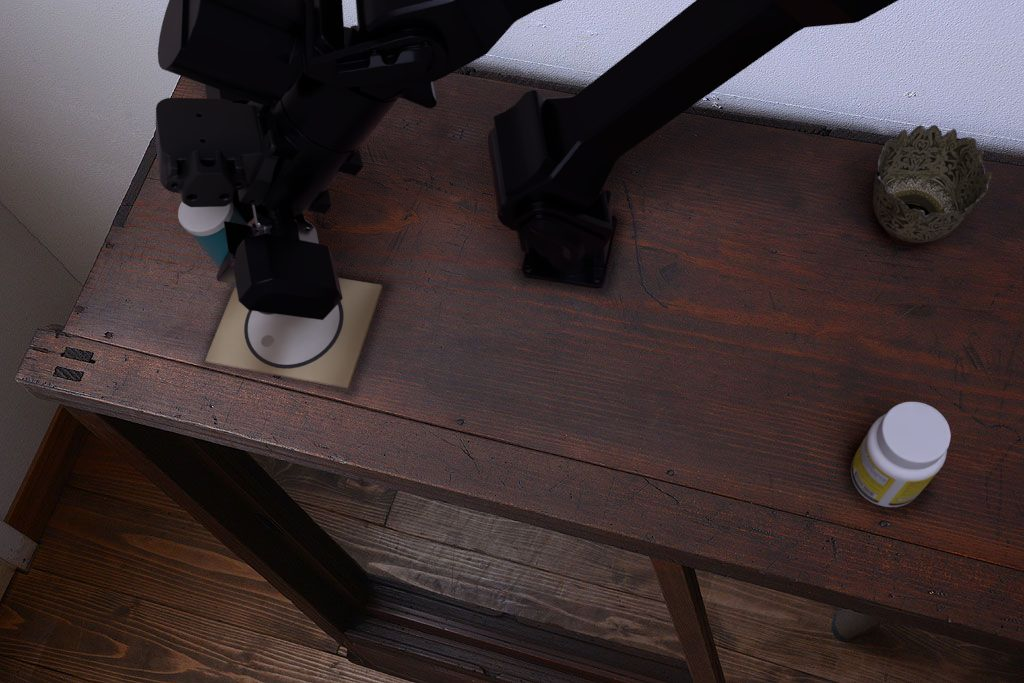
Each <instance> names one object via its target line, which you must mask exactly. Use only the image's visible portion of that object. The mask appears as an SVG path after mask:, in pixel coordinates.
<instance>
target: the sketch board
mask: <svg viewBox="0 0 1024 683" xmlns="http://www.w3.org/2000/svg"><path fill="white" fill-rule="evenodd" d="M338 279H339V283H340V288H341V293H342V297H343V299H342V300H341V301H340V302H339V303H338V305H337V306H336V307H335V308H334V309H333V310H332V311H331V312H330V313H329V314H328V315H327V316H326V317H325V318H324V319H323V320H318V319H311V318H303V317H296V316H288V315H281V314H271V315H266V314H262V313H260V312H258V311H251V310H248V309H247V308H246V307H245V306H243V305H242V304H241V303H240V302H239V300H238V294H237V289H236V287H235V286H234V288H233V290H232V292H231V295H230V298H229V300H228V303H227V305H226V307H225V310H224V312H223V314H222V318H221V319H220V322H219V324H218V328H217V330H216V332H215V335H214V338H213V340H212V342H211V344H210V347H209V350H208V352H207V355H206V357H205V360H204V361H205V363H207V364H212V365H217V366H222V367H228V368H234V369H238V370H244V371H250V372H254V373H255V372H256V373H260V374H266V375H272V376H276V377H283V378H287V379H293V380H298V381H303V382H310V383H313V384H314V383H315V384H320V385H326V386H330V387H336V388H341V389H346V390H350V387H351V384H352V381H353V378H354V376H355V372H356V369H357V367H358V366H357V365H358V364H359V360H360V357H361V354H362V351H363V348H364V345H365V342H366V340H367V335H368V334H369V329H370V327H371V324H372V322H373V318H374V315H375V312H376V309H377V306H378V303H379V300H380V297H381V295H382V294H381V293H382V290H383V285H382V284H379V283H372V282H366V281H360V280H354V279H347V278H341V277H338Z"/></svg>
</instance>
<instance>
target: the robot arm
mask: <svg viewBox="0 0 1024 683" xmlns="http://www.w3.org/2000/svg"><path fill="white" fill-rule="evenodd" d="M561 1H563V0H355V8H356V9H355V11H356V22H357V23H356V24H357V25H351V26H350V27H348V26H345V23H344V22H345V21H344V8H343V0H168V3H167V5H166V9H165V12H164V15H163V20H162V23H161V28H160V32H159V38H158V45H157V62H158V65H159V68H160V69H161V70H163V71H166V72H168V73H172V74H175V75H178V76H180V77H183V78H186V79H188V80H191V81H193V82H197V83H200V84H202V85H204V87H205V88H204V89H205V95H206V98H205V97H204V98H201V97H165V98H163V99H161V100H159V101H158V103H157V104H156V107H155V149H156V155H157V163H158V174H159V181H160V184H161V186H162V187H163V188H164V189H165V190H166V191H168V192H171V193H176V194H180V195H181V202H183V203H184V204H186V205H187V206H189V207H224V206H227V205H229V204H230V203H232V202H233V205H234V206H235V207H236V209H237V210H238V212H239V213H240V214H241V216H242V217H243V219H244V220H245V221H246V223H247V224H248V225H249V223H250V222H251V221H253V220H254V223H252V224H251V225H249V226H248V225H243V224H237V223H232V222H227V221H224V227H225V233H226V239H227V246H228V252H227V254H226V256H225V258H224V260H223V262H222V264H221V266H220V268H219V267H218V268H219V269H218V271H217V273H216V281H217V282H219V283H225V284H232V283H233V282H236V287H237V294H238V300H239V302H240V303H241V304H242V305H243V306H245V307H246V308H247V309H248V310H251V311H259V312H266V313H274V314H281V315H288V316H296V317H303V318H311V319H318V320H323V319H324V318H325V317H326V316H327V315H328V314H329V313H330V312H331V311H332V310H333V309H334V308H335V307H336V306H337V305H338V303H339V302H340V301H341V300H342V299H343V297H342V293H341V288H340V283H339V279H338V278H339V274H338V271H337V270H338V269H337V265H336V260H335V255H334V254H333V252H332V250H331V248H330V247H329V244H323V243H320V242H319V237H318V232H317V229H316V228H315V225H313V224H312V223H311V222H309V221H308V220H306V217H305V213H306V212H312V213H317V214H320V215H326V213H328V211H329V210H330V209H331V208H332V206H333V204H332V199H331V195H330V194H331V193H330V191H329V190H330V189H329V188H330V186H332V184H333V183H334V181H335V180H336V179H337V178H338V176H339V175H340V174H344V175H345V174H346V175H349V176H354V177H356V176H357V175H358V174H359V173H360V172H361V170H362V169H363V168H364V164H363V158H362V155H361V150H360V148H361V147H362V145H363V144H364V143H365V142H366V141H367V139H368V138H369V137H370V136H371V134H372V133H373V131H375V129H376V128H377V126H378V125H379V124H380V123H381V121H382V120H383V119H384V118H385V116H386V115H387V114H388V113H389V111H390V110H391V109H392V108H393V106H394V105H395V104H396V103H397V101H398V100H399V99H402V100H404V101H405V100H406V101H408V102H411V103H413V104H416V105H418V106H421V107H422V108H425V109H434V108H436V106H437V104H438V100H437V95H436V90H435V86H434V82H437V81H438V80H441V79H443V78H445V77H447V76H449V75H451V74H452V73H454V72H456V71H458V70H460V69H462V68H464V67H465V66H467V65H470V64H472V63H473V62H475V61H477V60H479V59H480V58H482V57H484V56H486V55H487V54H488V53H489V52H490V51H491V50H492V48H493V47H495V46H496V44H497V43H498V42H499V41H500V40H501V39H502V37H503V36H504V35H505V34H506V33H507V31H508V30H509V29H511V27H512V26H513V25H514V24H515V23H516V22H517V21H519V20H521V19H523V18H525V17H527V16H529V15H531V14H532V13H534V12H535V11H539V10H541V9H543V8H544V9H545V8H546V7H550V6H552V5H555V4H557V3H559V2H561ZM898 1H899V0H694V1H693V2H692V3H691V4H689V5H688V6H687V7H686V8H683V10H682V11H681V12H679V13H678V14H676V15H675V16H673V17H672V19H670V20H669V21H667V23H665V24H664V25H662V26H661V27H660V28H658V30H656V31H654V33H652V34H651V35H650V36H649V37H647V39H645V40H644V41H643V42H641V43H640V44H639V45H638V46H636V47H635V48H633V49H632V50H631V51H630V52H629V53H627V54H626V55H625V56H624V57H622V58H621V59H620V60H619V61H617V62H616V63H615V64H613V65H612V66H610V68H608V69H607V70H605V71H604V72H603V73H602V74H601V75H599V76H598V77H597V78H596V79H594V80H593V81H592V82H591V83H589V84H588V85H586V87H584V88H583V89H582V90H581V91H579V92H578V93H576V94H574V95H572V96H551V97H549V96H548V97H545V96H543V95H542V94H541V93H540V92H539V91H538V90H535V89H531V90H528V91H526V92H525V93H523V95H522V96H521V97H520V98H519V99H518V100H517V101H516V103H514V105H512V106H511V107H510V108H508V109H506V110H505V111H503V112H500V113H498V114H496V115H494V116H493V124H494V126H493V127H492V128H491V129H490V130H489V133H488V134H487V147H488V155H489V163H490V164H489V165H490V169H491V170H490V171H491V177H492V184H493V192H494V199H495V206H496V212H497V219H498V220H499V222H500V223H501V225H503V226H504V227H506V228H507V229H509V230H512V231H515V232H516V233H517V239H518V243H519V248H520V250H521V252H522V253H525V256H524V259H523V263H522V268H521V273H522V275H523V276H524V277H525V278H527V279H528V278H529V279H536V280H542V281H549V282H554V283H561V284H568V285H574V286H580V287H587V288H594V289H600V288H602V287H604V284H605V281H606V276H607V271H608V268H609V263H610V259H611V254H612V251H613V246H614V241H615V237H616V233H617V227H618V224H619V223H618V217H617V216H616V215H614V214H613V211H612V209H613V208H612V192H611V191H610V190H606V187H605V185H606V183H607V181H608V179H609V177H610V175H611V173H612V171H613V169H614V167H615V165H616V164H617V161H618V160H619V159H620V158H621V157H622V156H624V155H625V154H627V152H629V151H630V150H632V149H633V148H635V147H636V146H638V145H639V144H640V143H642V142H643V141H644V140H646V139H647V138H649V137H650V136H652V135H653V134H654V133H656V132H657V131H659V130H661V129H662V128H663V127H665V126H666V125H668V124H669V123H671V121H673V120H674V119H676V118H677V117H679V116H680V115H681V114H683V113H684V112H686V111H687V110H689V109H690V108H692V107H693V106H694V105H695V104H698V102H700V101H702V100H703V99H704V98H705V97H707V96H708V95H710V94H711V93H713V92H714V91H715V90H717V89H718V88H720V87H721V86H722V85H725V83H727V82H728V81H730V80H731V79H732V78H734V77H735V76H737V75H738V74H739V73H741V72H743V71H744V70H745V69H747V68H748V67H749V66H751V65H752V64H753V63H755V62H757V61H758V60H759V59H761V58H763V57H764V56H765V55H767V54H769V52H771V51H772V50H774V49H775V48H777V47H778V46H779V45H781V44H782V43H784V42H785V41H786V40H788V39H789V38H791V37H792V36H793V35H795V34H796V33H798V32H800V31H801V30H803V29H806V28H815V27H826V26H836V25H847V24H856V23H859V22H861V21H863V20H865V19H867V18H869V17H870V16H873V15H874V14H876V13H878V12H880V11H881V10H883V9H885V8H888V7H890V6H891V5H893V4H895V3H896V2H898ZM527 270H530V271H527ZM596 281H599V282H596Z"/></svg>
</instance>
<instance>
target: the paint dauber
mask: <svg viewBox="0 0 1024 683" xmlns="http://www.w3.org/2000/svg"><path fill="white" fill-rule="evenodd" d="M177 218H178V221H179V224H180V225H181V226H182V228H183V229H184V230H185V232H187V233H189V234H190V235H191V236H192V237H193V238H194V239H195V241H196V242H197V243H198V244H199V246H200V247H201V248H202V249H203V251H204V252H205V253H206V254H207V255H208V257H209V258H210V259H211V260H212V261H213V262H214V264H215V265H216V266H217V267H218V268H220V266H221V264H222V262H223V260H224V258H225V256H226V254H227V252H228V246H227V239H226V233H225V227H224V221H227V222H232V223H237V224H243V225H248V226H250V225H249V223H248V224H247V223H246V221H245V220H244V219H243V217H242V216H241V214H240V213H239V212H238V210H237V209H236V207H235V206H234V205H233V202H232V203H230V204H229V205H227V206H224V207H189V206H187V205H186V204H184V203H183V202H182V201H181V202H180V204H179V207H178V211H177ZM231 284H232V285H233V287H234V288H235V287H236V282H233V283H231ZM236 289H237V287H236ZM258 312H259V311H258ZM260 313H262V314H266V315H271V314H274V313H266V312H260Z"/></svg>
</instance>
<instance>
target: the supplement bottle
mask: <svg viewBox="0 0 1024 683" xmlns="http://www.w3.org/2000/svg"><path fill="white" fill-rule="evenodd" d="M951 436H952V434H951V428H950V425H949V423H948V421H947V419H946V418H945V417H944V415H943V414H942V413H941V412H940V411H939V410H937V409H936V408H935V407H933V406H931V405H929V404H928V403H927V404H926V403H923V402H920V401H905V402H901V403H898V404H896V405H894V406H893V407H892V408H890V409H889V410H888V411H887V413H884V414H883V415H881V416H880V417H878V418H877V419H875V421H874V422H873V423H872V425H871V426H870V428H869V429H868V431H867V432H866V435H865V437H864V438H863V440H862V442H861V443H860V445H859V447H858V448H857V450H856V452H855V454H854V455H853V458H852V460H851V465H850V475H851V479H852V483H853V485H854V487H855V489H856V490H857V491H858V493H859V494H860V495H861V496H862V497H863V498H864V499H865V500H867V501H869V502H870V503H872V504H874V505H877V506H880V507H885V508H898V507H903V506H906V505H908V504H910V503H911V502H913V501H914V500H915V499H916V498H918V496H920V494H921V493H922V492H923V490H925V488H926V487H927V486H928V485H929V483H931V481H932V480H933V479H934V477H935V476H936V475H937V474H938V473H939V471H940V470H941V469H942V467H943V466H944V464H945V461H946V459H947V454H948V449H949V446H950V443H951V438H952V437H951Z"/></svg>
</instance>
